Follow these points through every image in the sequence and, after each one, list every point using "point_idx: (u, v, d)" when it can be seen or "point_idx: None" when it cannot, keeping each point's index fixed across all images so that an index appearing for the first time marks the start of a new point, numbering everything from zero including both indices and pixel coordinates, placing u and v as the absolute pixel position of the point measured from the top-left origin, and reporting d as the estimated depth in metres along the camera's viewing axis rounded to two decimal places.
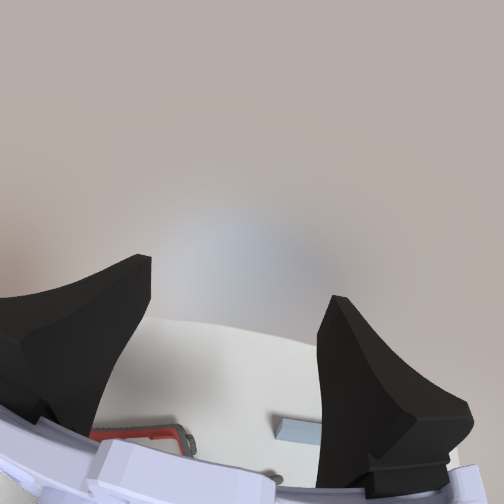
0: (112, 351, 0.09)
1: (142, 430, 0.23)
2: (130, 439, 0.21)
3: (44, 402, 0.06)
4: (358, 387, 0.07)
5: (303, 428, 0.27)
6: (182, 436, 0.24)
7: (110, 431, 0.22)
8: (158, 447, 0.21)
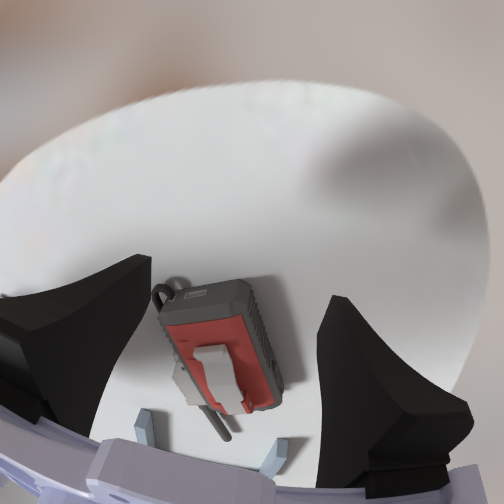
0: (112, 351, 0.09)
1: (265, 379, 0.22)
2: (235, 387, 0.20)
3: (44, 402, 0.06)
4: (358, 387, 0.07)
5: (273, 464, 0.29)
6: (262, 408, 0.23)
7: (254, 352, 0.21)
8: (232, 406, 0.21)
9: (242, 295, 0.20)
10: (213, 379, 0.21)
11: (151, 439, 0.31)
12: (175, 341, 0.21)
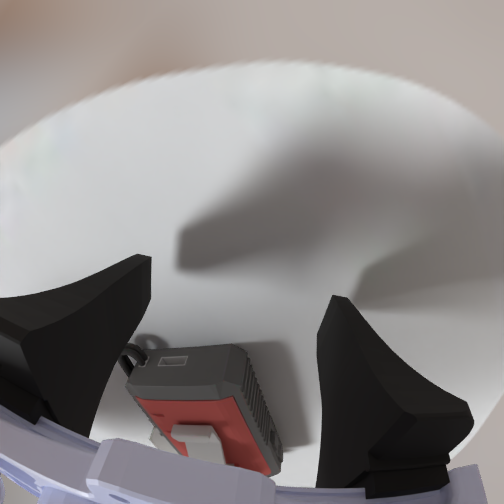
0: (112, 351, 0.09)
1: (262, 455, 0.16)
2: None
3: (44, 402, 0.06)
4: (358, 387, 0.07)
5: None
6: None
7: (250, 433, 0.15)
8: None
9: (235, 370, 0.14)
10: (197, 458, 0.15)
11: None
12: (149, 413, 0.15)
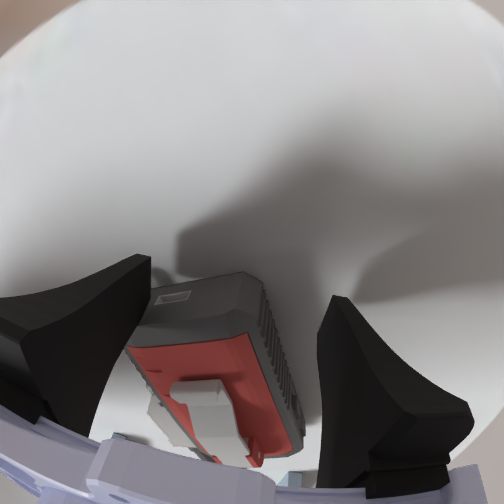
0: (112, 351, 0.09)
1: (282, 424, 0.14)
2: (237, 440, 0.12)
3: (44, 402, 0.06)
4: (358, 387, 0.07)
5: None
6: (275, 456, 0.15)
7: (268, 390, 0.13)
8: (232, 460, 0.13)
9: (249, 300, 0.12)
10: (203, 427, 0.13)
11: None
12: (144, 370, 0.13)
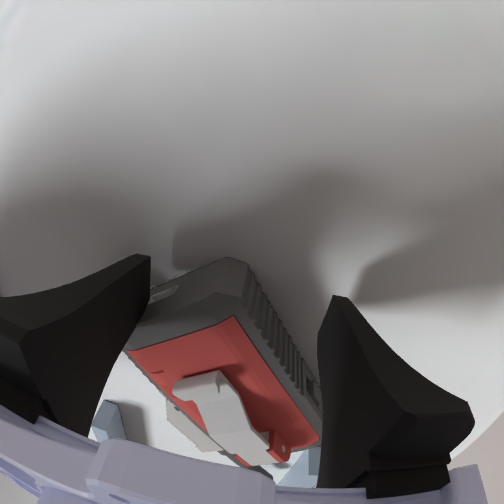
0: (111, 351, 0.09)
1: (300, 412, 0.13)
2: (251, 433, 0.12)
3: (43, 401, 0.06)
4: (359, 387, 0.07)
5: (302, 485, 0.18)
6: (303, 448, 0.15)
7: (273, 376, 0.12)
8: (254, 456, 0.13)
9: (231, 282, 0.11)
10: (215, 424, 0.12)
11: None
12: (148, 373, 0.13)
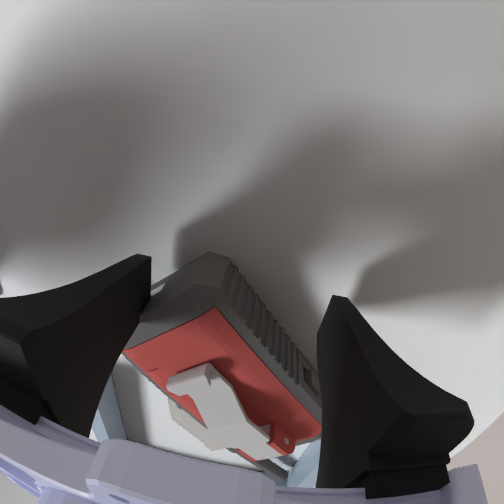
0: (112, 351, 0.09)
1: (298, 402, 0.13)
2: (248, 426, 0.12)
3: (44, 402, 0.06)
4: (358, 387, 0.07)
5: None
6: (308, 440, 0.14)
7: (264, 366, 0.12)
8: (257, 450, 0.13)
9: (211, 274, 0.12)
10: (213, 419, 0.12)
11: (114, 420, 0.19)
12: (145, 371, 0.13)
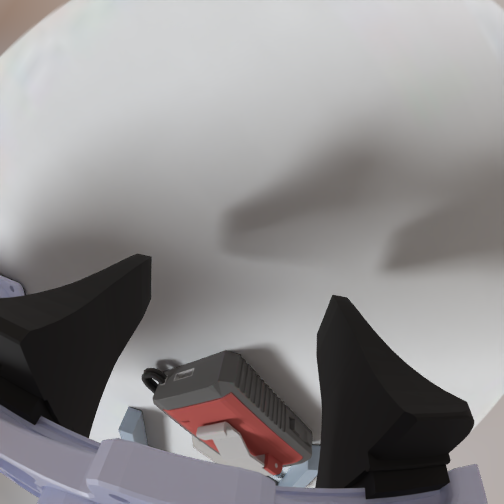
0: (112, 351, 0.09)
1: (284, 442, 0.18)
2: (250, 458, 0.17)
3: (44, 402, 0.06)
4: (358, 387, 0.07)
5: (302, 478, 0.21)
6: (292, 464, 0.20)
7: (262, 422, 0.17)
8: None
9: (228, 371, 0.17)
10: (226, 453, 0.17)
11: None
12: (179, 421, 0.18)
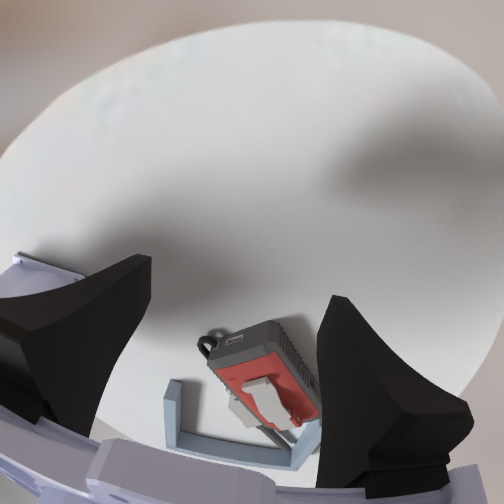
0: (112, 351, 0.09)
1: (307, 396, 0.25)
2: (282, 408, 0.23)
3: (44, 402, 0.06)
4: (358, 387, 0.07)
5: (314, 437, 0.28)
6: (309, 420, 0.26)
7: (293, 378, 0.24)
8: (282, 423, 0.24)
9: (273, 334, 0.23)
10: (262, 405, 0.24)
11: (178, 416, 0.30)
12: (225, 380, 0.24)
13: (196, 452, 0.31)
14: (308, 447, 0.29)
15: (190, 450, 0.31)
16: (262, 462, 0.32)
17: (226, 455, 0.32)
